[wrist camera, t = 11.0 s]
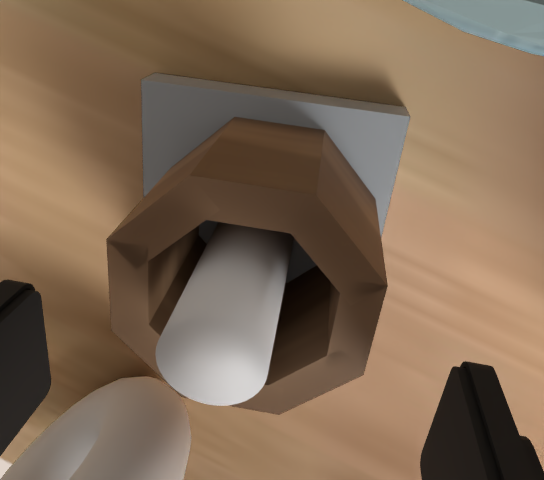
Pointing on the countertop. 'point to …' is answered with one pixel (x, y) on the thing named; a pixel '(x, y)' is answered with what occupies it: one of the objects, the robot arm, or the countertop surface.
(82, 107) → the countertop surface
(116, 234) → the ring
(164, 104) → the peg stand
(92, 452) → the donut
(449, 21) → the blue grey cup
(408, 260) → the countertop surface
